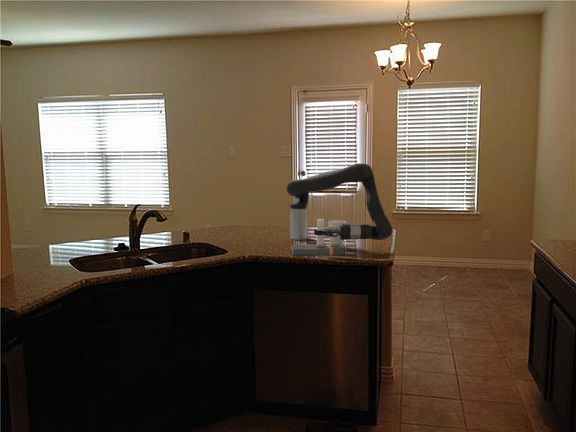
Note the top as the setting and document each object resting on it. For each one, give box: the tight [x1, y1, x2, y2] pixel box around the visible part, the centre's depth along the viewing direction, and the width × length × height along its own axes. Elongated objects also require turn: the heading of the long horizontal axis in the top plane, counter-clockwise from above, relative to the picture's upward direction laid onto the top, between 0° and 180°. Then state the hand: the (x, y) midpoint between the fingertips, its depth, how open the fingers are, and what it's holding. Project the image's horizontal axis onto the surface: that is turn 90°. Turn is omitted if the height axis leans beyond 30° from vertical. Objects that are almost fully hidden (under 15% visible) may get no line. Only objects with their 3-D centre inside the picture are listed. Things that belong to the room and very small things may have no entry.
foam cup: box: [327, 219, 348, 248], centre depth 244 cm, size 10×9×13 cm
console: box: [291, 243, 345, 257], centre depth 229 cm, size 24×12×3 cm, turn 93°
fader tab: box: [316, 218, 326, 247], centre depth 228 cm, size 4×4×13 cm
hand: (314, 232), depth 228 cm, fingers closed on fader tab, 3 cm apart
